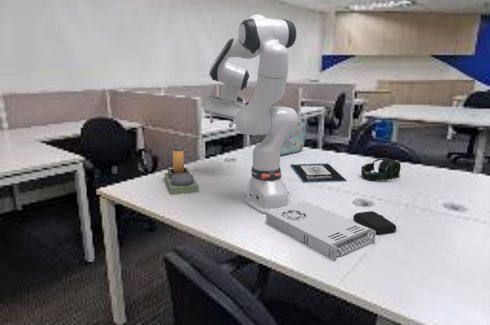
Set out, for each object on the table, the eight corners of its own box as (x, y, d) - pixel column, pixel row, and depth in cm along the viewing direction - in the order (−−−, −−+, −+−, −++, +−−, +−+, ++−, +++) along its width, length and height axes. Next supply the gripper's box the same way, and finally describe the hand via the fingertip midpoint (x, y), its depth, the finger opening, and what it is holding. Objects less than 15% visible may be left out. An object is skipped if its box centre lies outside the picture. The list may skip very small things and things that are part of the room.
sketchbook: (303, 184, 181) (303, 180, 181) (289, 166, 210) (289, 163, 210) (346, 182, 184) (347, 178, 183) (327, 165, 212) (327, 162, 212)
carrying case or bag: (401, 232, 131) (375, 216, 144) (402, 224, 130) (376, 208, 144) (375, 236, 128) (350, 219, 141) (375, 228, 127) (351, 211, 141)
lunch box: (294, 148, 251) (295, 116, 245) (306, 151, 243) (308, 117, 237) (264, 154, 234) (265, 120, 228) (276, 157, 227) (277, 122, 221)
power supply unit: (335, 262, 112) (336, 247, 111) (265, 224, 138) (265, 211, 137) (374, 245, 123) (376, 231, 122) (303, 212, 149) (303, 200, 147)
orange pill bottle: (185, 176, 180) (184, 148, 177) (174, 177, 178) (173, 148, 175) (183, 173, 185) (182, 145, 182) (172, 174, 183) (171, 146, 180)
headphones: (380, 159, 201) (352, 170, 193) (395, 146, 190) (366, 157, 182) (395, 181, 196) (367, 193, 188) (411, 168, 185) (381, 181, 177)
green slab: (198, 191, 169) (198, 179, 167) (171, 194, 165) (170, 181, 164) (188, 176, 191) (188, 164, 189) (164, 178, 187) (164, 166, 186)
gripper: (207, 91, 181) (198, 116, 177) (248, 100, 179) (241, 126, 175) (208, 97, 187) (200, 122, 183) (248, 107, 185) (241, 132, 181)
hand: (220, 124), depth 179 cm, fingers open, 8 cm apart
